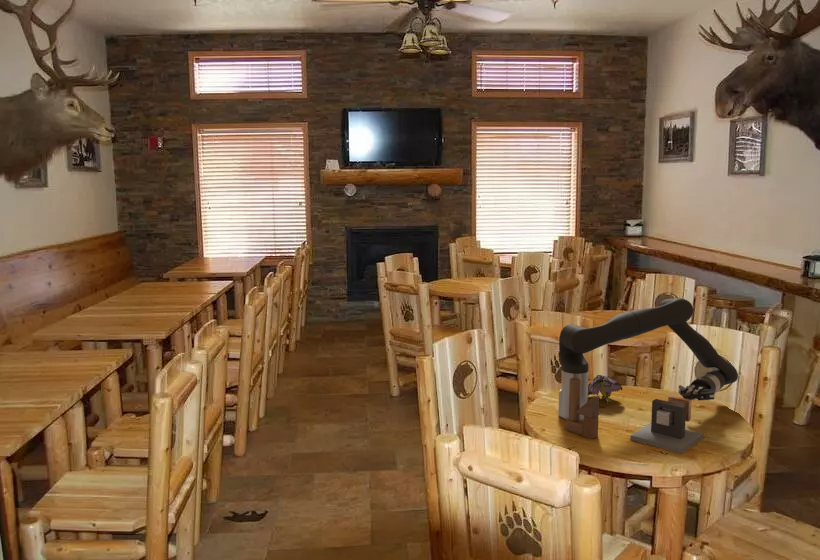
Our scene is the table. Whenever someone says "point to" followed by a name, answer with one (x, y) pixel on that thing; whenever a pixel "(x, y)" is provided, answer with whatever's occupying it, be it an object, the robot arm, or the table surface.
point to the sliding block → (673, 411)
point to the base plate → (667, 439)
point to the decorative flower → (603, 386)
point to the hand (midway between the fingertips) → (686, 398)
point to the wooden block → (582, 412)
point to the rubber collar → (679, 419)
